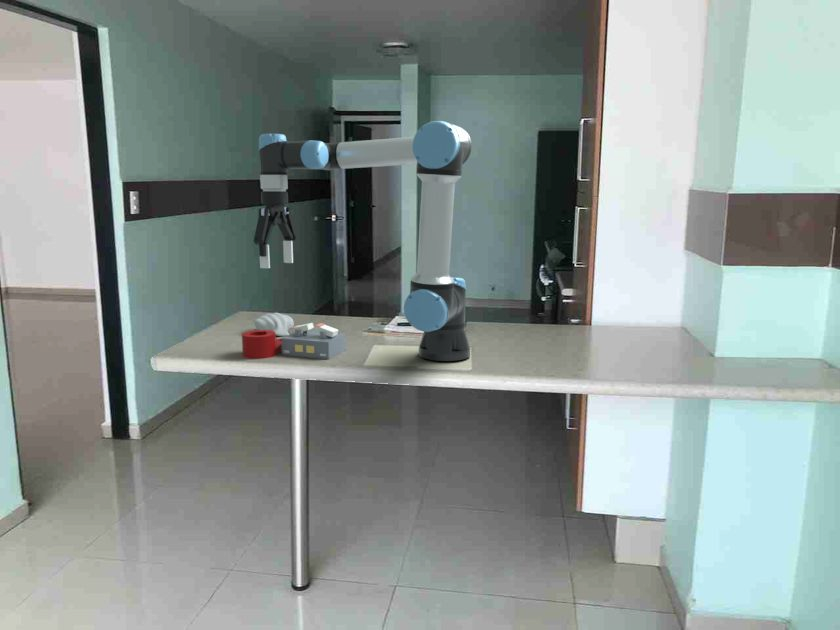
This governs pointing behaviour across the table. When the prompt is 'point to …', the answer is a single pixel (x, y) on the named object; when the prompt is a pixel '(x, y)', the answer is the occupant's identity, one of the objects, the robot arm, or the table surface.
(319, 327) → the rocker
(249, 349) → the lever
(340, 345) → the panel
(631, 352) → the table surface
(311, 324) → the rocker
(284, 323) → the shell shaped sculpture
